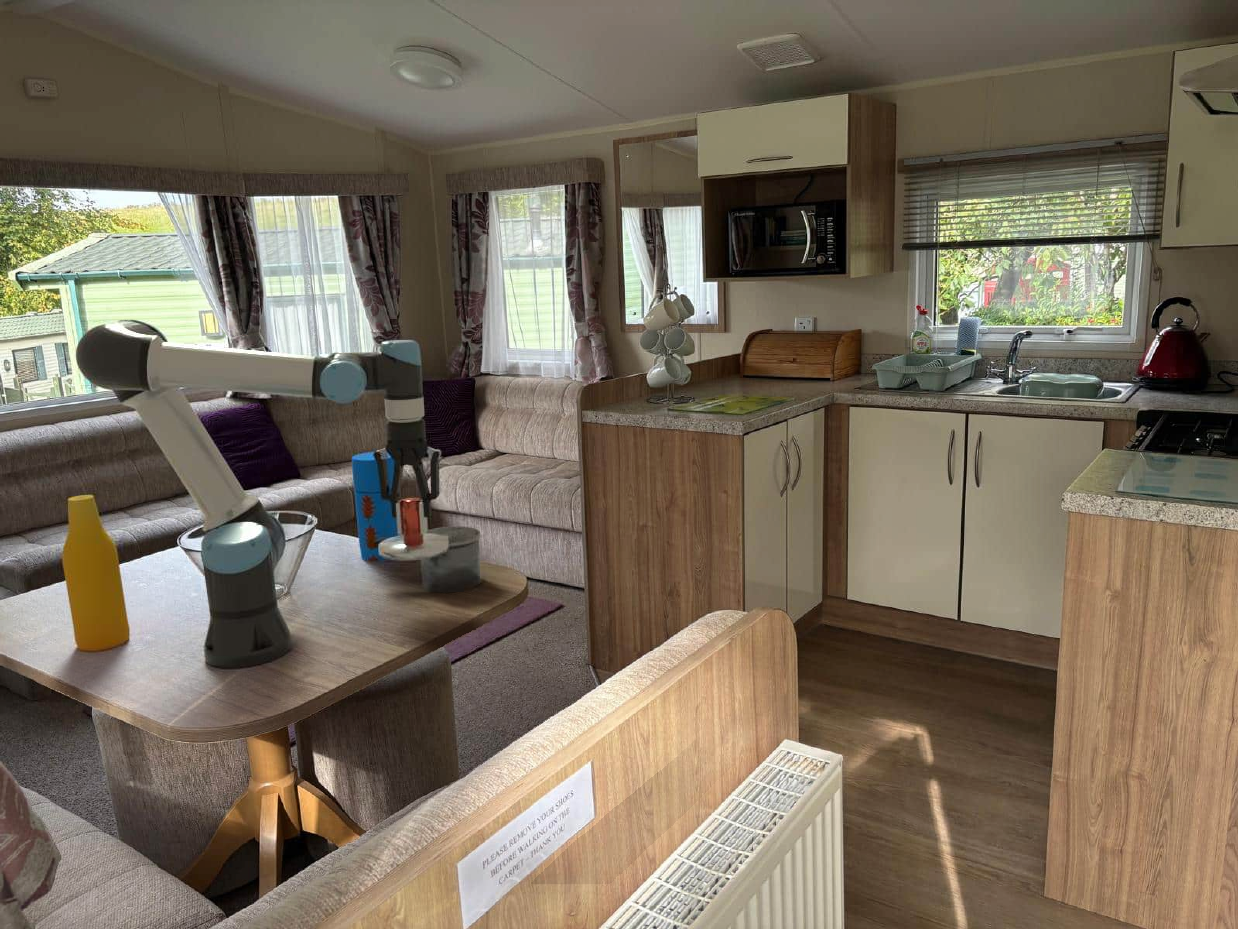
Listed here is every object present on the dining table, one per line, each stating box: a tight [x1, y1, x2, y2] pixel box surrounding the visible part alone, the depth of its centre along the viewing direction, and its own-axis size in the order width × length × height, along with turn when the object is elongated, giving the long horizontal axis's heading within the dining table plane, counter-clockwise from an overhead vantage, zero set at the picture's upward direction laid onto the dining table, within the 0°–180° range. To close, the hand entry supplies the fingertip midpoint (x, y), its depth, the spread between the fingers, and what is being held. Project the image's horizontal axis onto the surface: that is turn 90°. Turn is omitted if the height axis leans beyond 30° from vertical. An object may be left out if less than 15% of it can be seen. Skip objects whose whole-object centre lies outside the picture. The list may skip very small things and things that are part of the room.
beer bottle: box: [61, 494, 131, 652], centre depth 176 cm, size 9×9×29 cm
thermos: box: [351, 451, 403, 562], centre depth 226 cm, size 11×11×25 cm
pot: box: [374, 525, 483, 593], centre depth 206 cm, size 14×23×11 cm, turn 87°
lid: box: [378, 497, 449, 562], centre depth 188 cm, size 14×14×10 cm
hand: (412, 532), depth 188 cm, fingers closed on lid, 4 cm apart
